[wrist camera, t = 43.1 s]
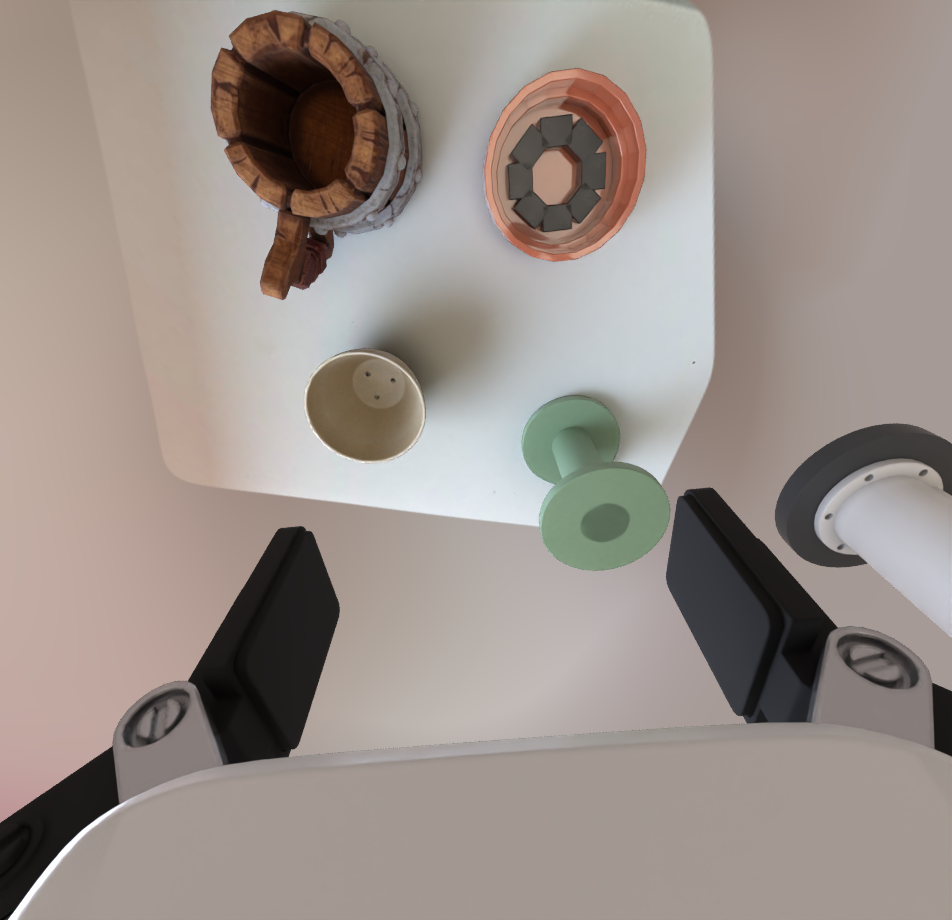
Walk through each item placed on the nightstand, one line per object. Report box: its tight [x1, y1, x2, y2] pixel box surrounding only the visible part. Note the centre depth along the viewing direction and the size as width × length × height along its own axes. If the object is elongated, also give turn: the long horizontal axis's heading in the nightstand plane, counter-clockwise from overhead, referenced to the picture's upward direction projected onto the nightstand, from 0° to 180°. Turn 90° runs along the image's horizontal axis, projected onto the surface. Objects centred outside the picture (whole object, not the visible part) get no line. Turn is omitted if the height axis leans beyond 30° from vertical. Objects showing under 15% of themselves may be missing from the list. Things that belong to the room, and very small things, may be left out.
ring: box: [506, 114, 606, 232], centre depth 33 cm, size 7×7×2 cm
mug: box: [211, 10, 422, 300], centre depth 29 cm, size 12×14×15 cm
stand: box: [522, 396, 670, 571], centre depth 40 cm, size 10×10×14 cm
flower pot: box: [304, 348, 426, 463], centre depth 40 cm, size 10×10×7 cm
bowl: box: [482, 68, 646, 262], centre depth 32 cm, size 11×11×5 cm
